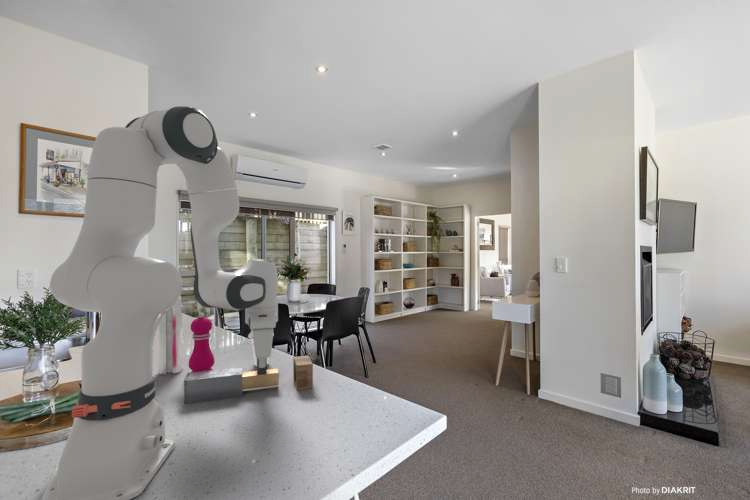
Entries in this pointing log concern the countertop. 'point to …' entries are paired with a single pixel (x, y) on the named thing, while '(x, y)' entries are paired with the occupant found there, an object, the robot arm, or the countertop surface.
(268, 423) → the countertop surface
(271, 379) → the gold post block
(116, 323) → the robot arm
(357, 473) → the countertop surface
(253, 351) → the cup with straw
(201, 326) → the pepper mill
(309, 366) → the socket block
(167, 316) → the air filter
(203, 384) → the sleeve
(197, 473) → the countertop surface
